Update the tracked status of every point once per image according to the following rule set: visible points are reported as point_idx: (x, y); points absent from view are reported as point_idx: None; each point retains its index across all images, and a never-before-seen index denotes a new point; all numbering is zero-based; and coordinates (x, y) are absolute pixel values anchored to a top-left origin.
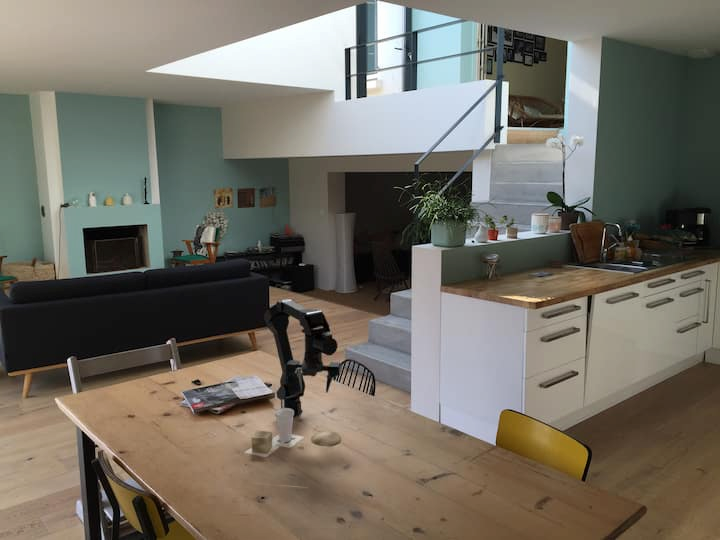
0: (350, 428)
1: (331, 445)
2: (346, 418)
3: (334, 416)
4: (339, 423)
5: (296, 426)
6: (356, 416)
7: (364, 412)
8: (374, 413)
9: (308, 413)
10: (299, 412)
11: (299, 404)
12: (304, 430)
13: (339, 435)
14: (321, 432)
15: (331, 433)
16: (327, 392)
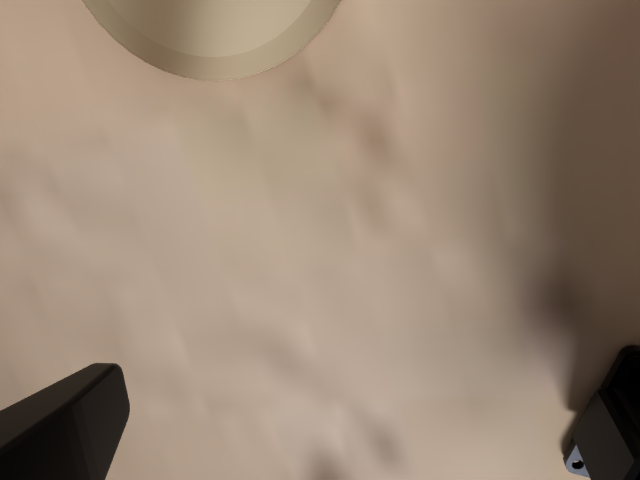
0: (76, 200)
1: None
2: (174, 372)
3: (277, 397)
4: (197, 281)
5: (571, 173)
6: None
7: None
8: None
9: (504, 430)
10: (586, 413)
11: (611, 473)
12: (474, 95)
13: (98, 11)
14: (287, 49)
15: (185, 41)
16: (91, 366)
